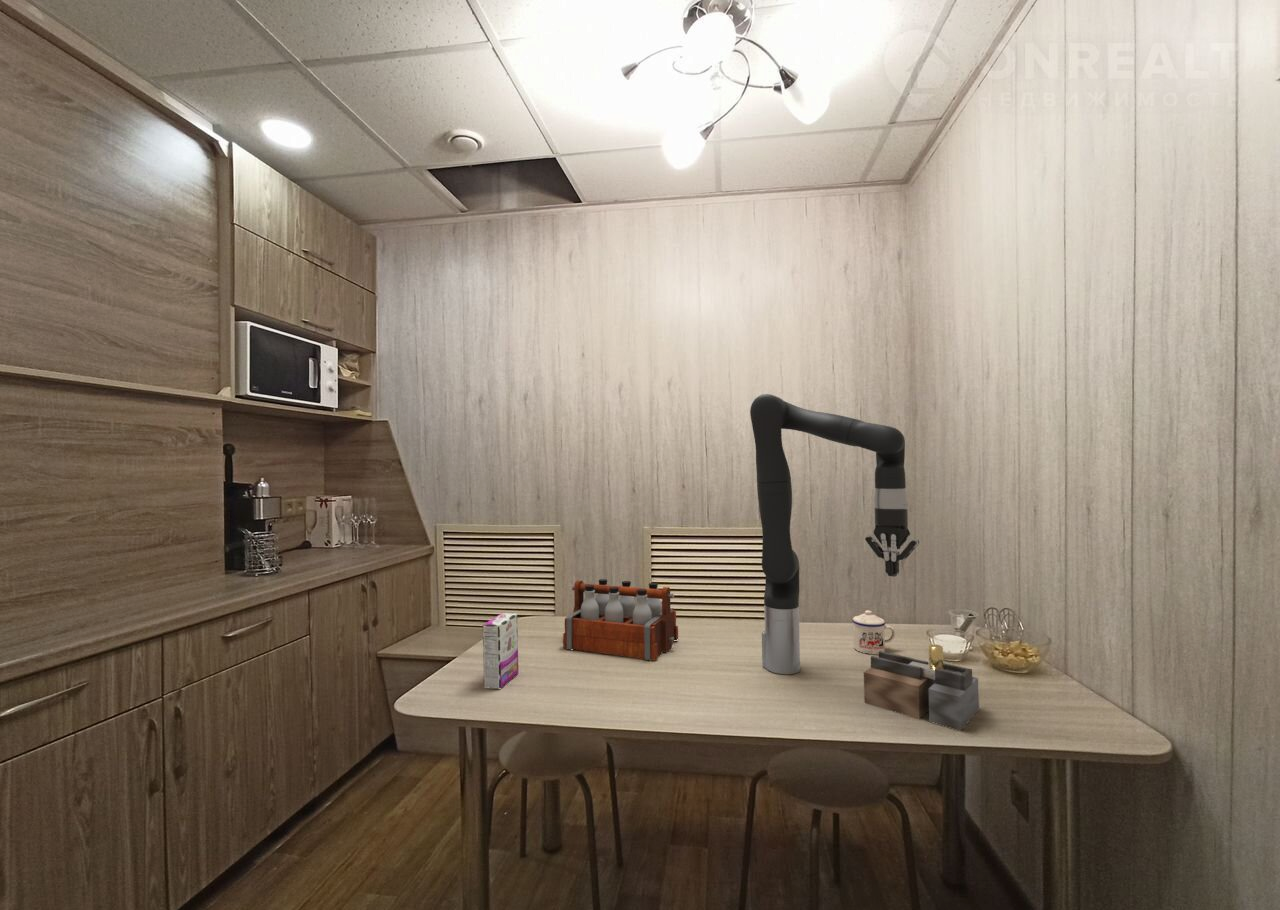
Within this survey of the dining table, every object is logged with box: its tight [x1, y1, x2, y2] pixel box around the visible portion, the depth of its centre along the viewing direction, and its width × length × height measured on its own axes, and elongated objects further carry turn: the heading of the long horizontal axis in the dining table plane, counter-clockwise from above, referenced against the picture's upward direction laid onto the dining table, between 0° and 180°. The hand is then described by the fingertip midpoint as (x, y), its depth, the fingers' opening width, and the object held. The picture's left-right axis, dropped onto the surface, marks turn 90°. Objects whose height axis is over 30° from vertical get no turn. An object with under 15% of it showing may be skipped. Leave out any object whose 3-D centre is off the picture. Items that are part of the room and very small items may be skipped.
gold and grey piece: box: [909, 643, 963, 680], centre depth 122 cm, size 11×3×7 cm, turn 45°
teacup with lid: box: [851, 609, 896, 655], centre depth 162 cm, size 12×9×12 cm
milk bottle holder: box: [562, 578, 679, 661], centre depth 171 cm, size 21×35×19 cm, turn 67°
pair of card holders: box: [863, 651, 980, 732], centre depth 124 cm, size 20×14×10 cm
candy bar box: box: [482, 612, 519, 689], centre depth 142 cm, size 11×5×16 cm, turn 168°
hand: (892, 575), depth 135 cm, fingers closed
